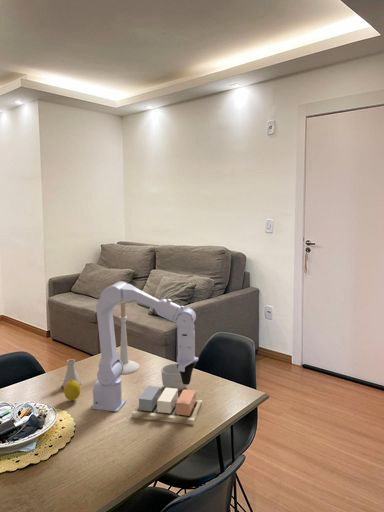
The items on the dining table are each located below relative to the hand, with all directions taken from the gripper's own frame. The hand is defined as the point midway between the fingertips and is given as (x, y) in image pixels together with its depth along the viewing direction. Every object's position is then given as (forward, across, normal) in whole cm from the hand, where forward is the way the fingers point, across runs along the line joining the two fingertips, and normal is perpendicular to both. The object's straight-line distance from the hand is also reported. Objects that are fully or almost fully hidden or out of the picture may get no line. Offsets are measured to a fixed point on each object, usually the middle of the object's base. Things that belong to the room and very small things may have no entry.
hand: (186, 383), depth 138 cm
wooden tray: (+10, 0, +6) cm, 12 cm away
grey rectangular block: (+9, 0, +13) cm, 16 cm away
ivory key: (+9, 0, +6) cm, 11 cm away
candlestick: (+11, +31, +35) cm, 48 cm away
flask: (+11, +11, +49) cm, 51 cm away
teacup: (+11, +19, +8) cm, 23 cm away
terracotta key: (+9, 0, 0) cm, 9 cm away
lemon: (+11, -1, +42) cm, 43 cm away
